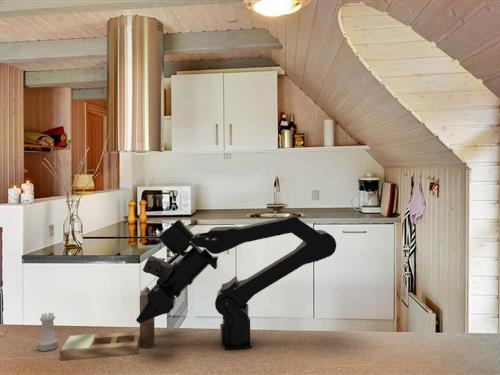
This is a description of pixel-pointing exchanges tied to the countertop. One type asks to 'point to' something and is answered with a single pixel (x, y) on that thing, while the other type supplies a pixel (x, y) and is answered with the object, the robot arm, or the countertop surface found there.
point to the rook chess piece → (47, 333)
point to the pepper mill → (146, 324)
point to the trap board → (100, 345)
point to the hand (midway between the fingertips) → (141, 315)
